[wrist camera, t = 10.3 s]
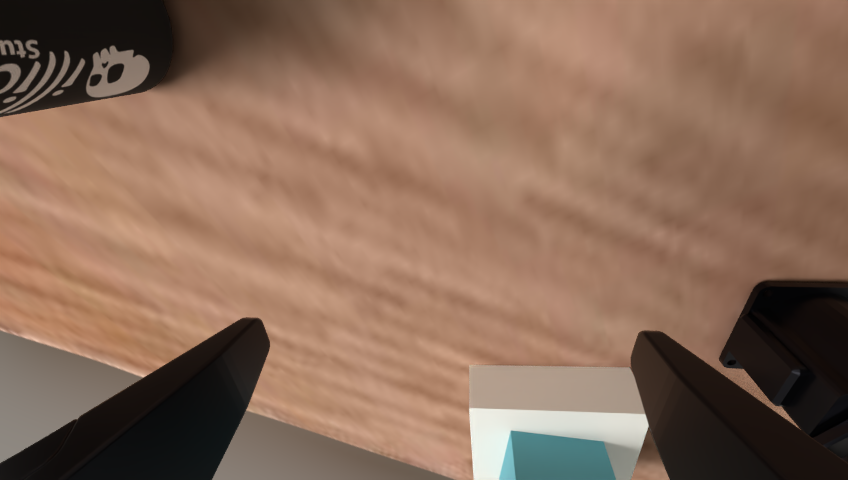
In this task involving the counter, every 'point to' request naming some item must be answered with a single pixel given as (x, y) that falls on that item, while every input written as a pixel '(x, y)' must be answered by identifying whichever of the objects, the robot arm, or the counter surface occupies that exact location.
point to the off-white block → (554, 411)
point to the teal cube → (554, 458)
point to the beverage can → (79, 51)
